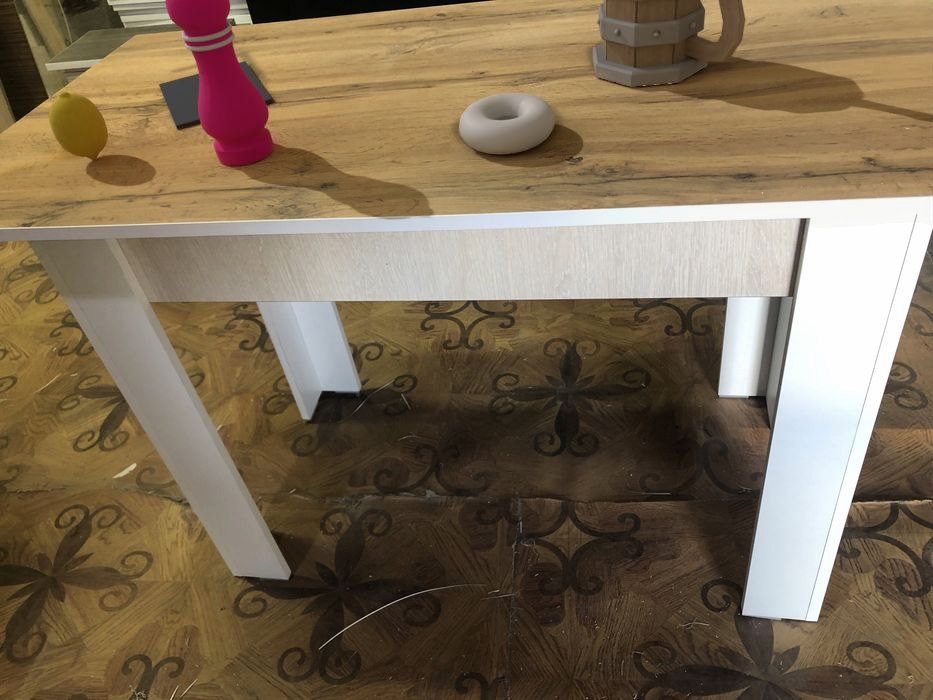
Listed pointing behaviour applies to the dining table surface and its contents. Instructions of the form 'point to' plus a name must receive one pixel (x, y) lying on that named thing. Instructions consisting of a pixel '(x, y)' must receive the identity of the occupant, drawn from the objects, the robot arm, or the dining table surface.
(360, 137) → the dining table surface
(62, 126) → the lemon
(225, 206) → the dining table surface
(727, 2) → the tankard
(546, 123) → the donut
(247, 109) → the pepper mill
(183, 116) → the mat
